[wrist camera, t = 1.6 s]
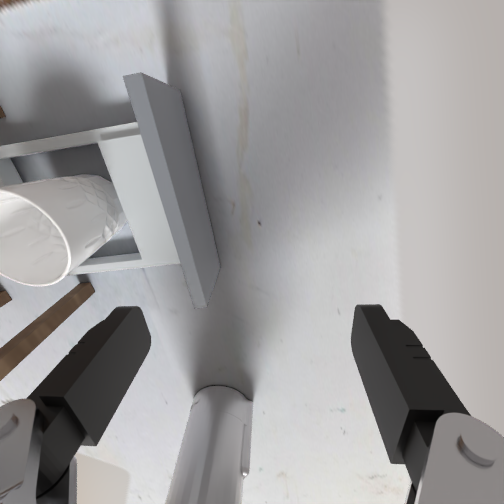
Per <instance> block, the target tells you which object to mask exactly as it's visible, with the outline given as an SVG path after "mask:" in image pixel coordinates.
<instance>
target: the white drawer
mask: <svg viewBox="0 0 504 504" xmlns="http://www.w3.org/2000/svg"><path fill="white" fill-rule="evenodd" d="M123 79H124V82H125V85H126V88H127V92H128V95H129V98H130V101H131V105H132V108H133V111H134V114H135V118H136V121H137V122H134V123H128V124H122V125H117V126H111V127H105V128H100V129H94V130H88V131H83V132H77V133H71V134H66V135H60V136H54V137H49V138H43V139H37V140H31V141H26V142H20V143H14V144H9V145H3V146H0V187H1V186H7V185H13V184H19V183H23V181H22V179H21V177H20V176H19V174H18V172H17V170H16V168H15V166H14V164H13V163H12V161H11V159H10V158H13V157H19V156H25V155H31V154H37V153H43V152H49V151H54V150H60V149H66V148H72V147H78V146H84V145H90V144H96V143H98V145H99V148H100V150H101V153H102V156H103V158H104V161H105V164H106V166H107V169H108V171H109V174H110V177H111V179H112V182H113V184H114V187H115V190H116V192H117V195H118V198H119V200H120V203H121V205H122V208H123V211H124V213H125V216H126V218H127V221H128V224H129V226H130V229H131V232H132V234H133V237H134V239H135V242H136V245H137V247H138V250H139V252H140V253H133V254H124V255H115V256H106V257H97V258H88V259H86V260H85V261H84V262H82V263H81V264H80V265H79V266H78V267H76V268H75V269H74V270H73V271H71V272H70V273H69V274H68V275H77V274H86V273H96V272H106V271H115V270H125V269H135V268H144V267H154V266H163V265H173V264H181V267H182V270H183V273H184V276H185V280H186V283H187V286H188V289H189V293H190V296H191V299H192V302H193V305H194V308H207V306H208V303H209V300H210V297H211V294H212V291H213V288H214V285H215V282H216V280H217V277H218V274H219V271H220V268H221V266H220V262H219V257H218V253H217V248H216V244H215V240H214V235H213V231H212V227H211V222H210V218H209V214H208V209H207V205H206V201H205V196H204V192H203V188H202V183H201V179H200V174H199V170H198V166H197V161H196V157H195V153H194V148H193V144H192V140H191V135H190V131H189V127H188V122H187V118H186V114H185V109H184V105H183V100H182V96H181V92H180V90H179V89H177V88H174V87H172V86H170V85H168V84H166V83H163V82H161V81H159V80H157V79H154V78H152V77H150V76H148V75H146V74H143V73H136V74H131V75H126V76H123ZM66 276H67V275H66Z"/></svg>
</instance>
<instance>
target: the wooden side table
mask: <svg viewBox="0 0 504 504" xmlns="http://www.w3.org/2000/svg"><path fill="white" fill-rule="evenodd" d="M3 117H6V116H5V114H4V112H3V110H2V108H1V106H0V118H3ZM94 292H95V291H94V289H93V287H92V285H91V283H90V282H89V283H80V284H78V285H77V286H76V287H75V288H74V289H72V290H71V291H70V292H69V293H67V294H66V295H65V296H64V297H63V298H61V299H60V300H59V301H58V302H56V303H55V304H54V305H53V306H52V307H50V308H49V309H48V310H47V311H45V312H44V313H43V314H42V315H41V316H39V317H38V318H37V319H36V320H34V321H33V322H32V323H31V324H30V325H28V326H27V327H26V328H25V329H23V330H22V331H21V332H20V333H19V334H17V335H16V336H15V337H14V338H12V339H11V340H10V341H9V342H8V343H6V344H5V345H4V346H3V347H1V348H0V381H1V380H2V379H3V378H4V377H5V376H6V375H7V374H8V373H9V372H10V371H12V370H13V369H14V368H15V367H16V366H17V365H18V364H19V363H20V362H21V361H22V360H23V359H24V358H25V357H26V356H27V355H29V354H30V353H31V352H32V351H33V350H34V349H35V348H36V347H37V346H38V345H39V344H40V343H41V342H42V341H43V340H44V339H46V338H47V337H48V336H49V335H50V334H51V333H52V332H53V331H54V330H55V329H56V328H57V327H58V326H59V325H60V324H61V323H63V322H64V321H65V320H66V319H67V318H68V317H69V316H70V315H71V314H72V313H73V312H74V311H75V310H76V309H77V308H78V307H80V306H81V305H82V304H83V303H84V302H85V301H86V300H87V299H88V298H89V297H90V296H91V295H92V294H93V293H94ZM11 300H12V299H11V298H10V296H9V295H8V293H7V292H6V291H0V307H2V306H3V305H5V304H6V303H8V302H9V301H11Z"/></svg>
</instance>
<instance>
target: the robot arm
mask: <svg viewBox="0 0 504 504" xmlns="http://www.w3.org/2000/svg"><path fill="white" fill-rule="evenodd" d="M150 346H151V336H150V332H149V330H148V327H147V324H146V321H145V318H144V315H143V312H142V310H141V308H140V307H138V306H122V307H116V308H115V309H114V310H113V311H112V312H111V313H110V315H109V316H108V317H107V318H106V319H105V320H103V321H101V322H100V323H98V324H97V325H96V326H94V327H93V328H91V329H90V330H89V331H88V332H87V333H86V334H85V335H84V336H83V337H82V338H81V339H80V340H79V342H78V344H77V345H75V346H74V347H73V348H72V349H71V350H70V351H69V354H68V355H66V356H65V357H64V358H63V359H62V360H61V361H60V362H59V364H58V365H57V366H56V367H55V368H54V369H53V370H52V371H51V372H50V373H49V375H48V376H47V377H46V378H45V379H44V380H43V381H42V382H41V383H40V384H39V386H38V387H37V388H36V389H35V390H34V391H33V392H32V393H31V394H30V395H29V396H28V397H27V398H26V399H18V400H15V401H12V402H9V403H7V404H5V405H3V406H1V407H0V504H77V503H76V502H77V501H76V500H77V460H76V457H75V456H74V455H75V454H76V452H77V450H78V449H79V447H80V445H84V446H97V444H98V442H99V440H100V439H101V437H102V435H103V433H104V431H105V430H106V428H107V426H108V424H109V422H110V421H111V419H112V417H113V415H114V413H115V412H116V410H117V408H118V406H119V404H120V403H121V401H122V399H123V397H124V395H125V394H126V392H127V390H128V388H129V386H130V385H131V383H132V381H133V379H134V377H135V376H136V374H137V372H138V370H139V368H140V367H141V365H142V363H143V361H144V359H145V358H146V356H147V354H148V352H149V350H150ZM351 347H352V352H353V356H354V359H355V362H356V364H357V367H358V370H359V373H360V376H361V379H362V382H363V385H364V388H365V390H366V393H367V396H368V399H369V402H370V405H371V408H372V411H373V413H374V416H375V419H376V422H377V425H378V428H379V431H380V434H381V437H382V439H383V442H384V445H385V448H386V451H387V454H388V457H389V460H390V462H391V464H405V465H406V468H407V470H408V473H409V475H410V478H411V482H410V485H409V489H408V492H407V496H406V500H405V504H504V437H503V436H502V435H501V434H499V433H498V432H497V431H496V430H494V429H493V428H492V427H490V426H489V425H487V424H486V423H484V422H482V421H480V420H478V419H476V418H474V417H472V416H471V415H470V414H469V412H468V411H467V410H466V408H465V407H464V405H463V404H462V402H461V401H460V400H459V398H458V396H457V395H456V393H455V392H454V391H453V389H452V388H451V386H450V385H449V383H448V382H447V381H446V379H445V377H444V376H443V374H442V373H441V371H440V370H439V369H438V367H437V366H436V364H435V363H434V361H433V360H431V357H430V355H429V354H428V352H427V351H426V349H425V348H423V345H422V344H421V342H420V341H419V339H418V338H417V336H416V335H415V333H414V332H413V331H412V330H411V329H409V328H408V327H407V326H406V325H405V324H403V323H402V322H401V321H400V320H390V319H389V317H388V315H387V314H386V312H385V310H384V309H383V307H382V306H381V305H379V304H377V305H356V307H355V312H354V319H353V327H352V334H351ZM252 413H253V402H252V401H249V400H247V399H246V398H245V397H244V395H243V394H241V393H240V392H238V391H237V390H235V389H232V388H229V387H224V386H210V387H206V388H204V389H201V390H200V391H199V392H197V394H196V395H195V397H194V400H193V404H192V407H191V410H190V415H189V419H188V422H187V426H186V429H185V433H184V437H183V440H182V444H181V448H180V451H179V455H178V458H177V462H176V466H175V469H174V473H173V477H172V480H171V484H170V488H169V491H168V495H167V499H166V502H165V504H242V490H243V479H244V478H245V477H246V476H247V475H248V474H249V469H250V450H251V431H252Z"/></svg>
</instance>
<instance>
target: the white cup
mask: <svg viewBox="0 0 504 504" xmlns="http://www.w3.org/2000/svg"><path fill="white" fill-rule="evenodd" d="M126 222H127V218H126V216H125V213H124V211H123V208H122V205H121V203H120V200H119V198H118V195H117V192H116V190H115V187H114V184H113V183H112V182H110V181H108V180H106V179H104V178H102V177H101V176H98V175H88V174H82V175H76V176H68V177H57V178H52V179H43V180H37V181H31V182H25V183H19V184H13V185H7V186H1V187H0V274H1V275H3V276H4V277H6V278H8V279H10V280H13V281H15V282H18V283H21V284H25V285H30V286H48V285H52V284H55V283H57V282H59V281H60V280H62V279H63V278H64V277H65V276H66V275H68V274H69V273H70V272H71V271H73V270H74V269H75V268H76V267H78V266H79V265H80V264H81V263H82V262H84V261H85V260H86V259H87V258H89V257H90V256H91V255H92V254H94V253H95V252H96V251H97V250H99V249H100V248H101V247H102V246H103V245H104V244H105V243H107V242H108V241H109V240H110V239H111V238H112V237H113V236H114V235H115V234H116V233H118V232H119V231H120V230H121V229H122V227H123V226H124V225H125V223H126Z"/></svg>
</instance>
